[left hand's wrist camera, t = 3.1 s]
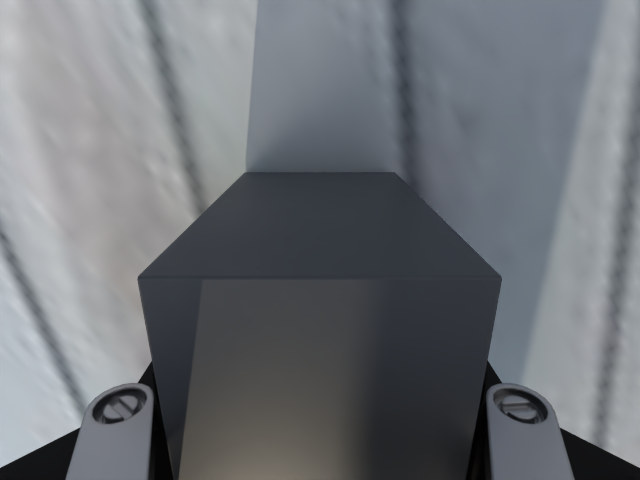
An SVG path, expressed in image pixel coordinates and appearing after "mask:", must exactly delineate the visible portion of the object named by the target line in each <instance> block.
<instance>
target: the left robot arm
mask: <svg viewBox="0 0 640 480" xmlns="http://www.w3.org/2000/svg"><path fill="white" fill-rule="evenodd" d="M0 480H174V479H173V474H172V468H171V463H170V457H169V451H168V446H167V440H166V435H165V429H164V424H163V418H162V413H161V407H160V402H159V396H158V390H157V385H156V379H155V374H154V368H153V363H152V361H151V363H150V365H149V366H148V368H147V369H146V371H145V372H144V374H143V376H142V377H141V379H140V380H139V382H138V383H129V384H123V385H119V386H116V387H113V388H111V389H109V390H107V391H105V392H103V393H102V394H100V395H99V396H97V397H96V398H95V399H94V400H93V401H92V402H91V403H90V404H89V405H88V407H87V409H86V411H85V414H84V417H83V421H82V424H81V427H80V428H78V429H76V430H74V431H72V432H70V433H68V434H66V435H64V436H63V437H61V438H59V439H57V440H55V441H53V442H51V443H49V444H47V445H45V446H43V447H41V448H39V449H37V450H35V451H33V452H31V453H29V454H27V455H25V456H23V457H21V458H19V459H17V460H15V461H13V462H11V463H9V464H7V465H5V466H3V467H1V468H0ZM466 480H640V468H639V467H637V466H635V465H633V464H631V463H629V462H627V461H625V460H623V459H621V458H619V457H617V456H615V455H613V454H611V453H609V452H607V451H605V450H603V449H601V448H599V447H597V446H595V445H593V444H591V443H589V442H587V441H585V440H583V439H581V438H579V437H577V436H575V435H573V434H571V433H569V432H567V431H565V430H563V429H561V428H559V424H558V421H557V417H556V414H555V411H554V409H553V407H552V405H551V404H550V403H549V402H548V401H547V400H546V399H545V398H544V397H543V396H541V395H540V394H538V393H537V392H535V391H533V390H531V389H529V388H527V387H524V386H521V385H517V384H511V383H502V382H501V381H500V379H499V378H498V376H497V374H496V373H495V371H494V370H493V368H492V367H491V365H490V364H489V362H488V360H487V365H486V370H485V376H484V381H483V387H482V393H481V398H480V404H479V409H478V415H477V420H476V426H475V432H474V437H473V443H472V448H471V454H470V459H469V465H468V471H467V476H466Z"/></svg>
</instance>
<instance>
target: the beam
mask: <svg viewBox="0 0 640 480" xmlns="http://www.w3.org/2000/svg"><path fill="white" fill-rule="evenodd" d="M501 281H502V278H501V276H500V275H499V274H498V273H497V272H496V271H495V270H494V269H493V268H492V267H491V266H490V265H489V264H488V263H487V262H486V261H485V260H484V259H483V258H482V257H481V256H480V255H479V254H478V253H477V252H476V251H475V250H474V249H473V248H472V247H471V246H470V245H468V244H467V243H466V242H465V241H464V240H463V239H462V238H461V237H460V236H459V235H458V234H457V233H456V232H455V231H454V230H453V229H452V228H451V227H450V226H449V225H448V224H447V223H446V222H445V221H444V220H443V219H442V218H441V217H440V216H439V215H438V214H437V213H436V212H435V211H434V210H433V209H432V208H431V207H430V206H429V205H428V204H427V203H426V202H425V201H423V200H422V199H421V198H420V197H419V196H418V195H417V194H416V193H415V192H414V191H413V190H412V189H411V188H410V187H409V186H408V185H407V184H406V183H405V182H404V181H403V180H402V179H401V178H400V177H399V176H398V175H397V174H396V173H244V174H243V175H242V176H241V177H240V178H239V179H238V180H237V181H236V182H235V183H234V184H233V185H232V186H231V187H230V188H228V189H227V190H226V191H225V192H224V193H223V194H222V195H221V196H220V197H219V198H218V199H217V200H216V201H215V202H214V203H213V204H212V205H211V206H210V207H209V208H208V209H207V210H206V211H205V212H204V213H203V214H202V215H201V216H200V217H199V218H198V219H197V220H196V221H195V222H194V223H193V224H191V225H190V226H189V227H188V228H187V229H186V230H185V231H184V232H183V233H182V234H181V235H180V236H179V237H178V238H177V239H176V240H175V241H174V242H173V243H172V244H171V245H170V246H169V247H168V248H167V249H166V250H165V251H164V252H163V253H162V254H161V255H160V256H159V257H158V258H157V259H156V260H154V261H153V262H152V263H151V264H150V265H149V266H148V267H147V268H146V269H145V270H144V271H143V272H142V273H141V274H140V275H139V276H138V285H139V291H140V296H141V302H142V307H143V313H144V318H145V324H146V329H147V335H148V341H149V346H150V352H151V357H152V363H153V368H154V374H155V379H156V385H157V390H158V396H159V402H160V407H161V413H162V418H163V424H164V429H165V435H166V440H167V446H168V451H169V457H170V463H171V468H172V474H173V479H174V480H466V476H467V471H468V465H469V459H470V454H471V448H472V443H473V437H474V432H475V426H476V420H477V415H478V409H479V404H480V398H481V393H482V387H483V381H484V376H485V370H486V365H487V359H488V354H489V348H490V342H491V337H492V331H493V326H494V320H495V315H496V309H497V303H498V298H499V292H500V287H501Z"/></svg>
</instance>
